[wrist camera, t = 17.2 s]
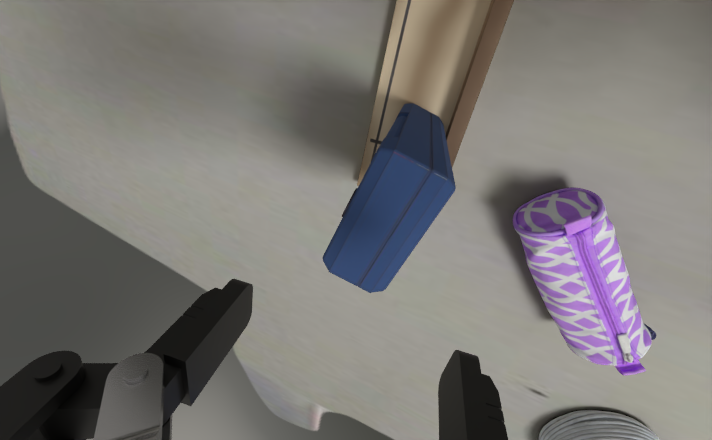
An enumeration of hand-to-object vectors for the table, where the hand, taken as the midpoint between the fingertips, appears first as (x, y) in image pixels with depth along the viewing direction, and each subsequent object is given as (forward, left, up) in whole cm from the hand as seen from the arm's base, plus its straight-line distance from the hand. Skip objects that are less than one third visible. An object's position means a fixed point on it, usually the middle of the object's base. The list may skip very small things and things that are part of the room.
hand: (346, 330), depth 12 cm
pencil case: (-24, +9, -30) cm, 39 cm away
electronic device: (0, 0, -28) cm, 28 cm away
